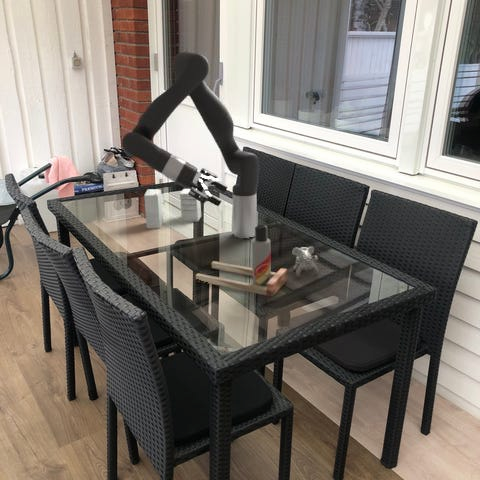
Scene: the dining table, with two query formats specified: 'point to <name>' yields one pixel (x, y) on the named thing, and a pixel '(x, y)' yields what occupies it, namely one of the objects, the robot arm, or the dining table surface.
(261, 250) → the lotion bottle
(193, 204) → the supplement box
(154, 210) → the skincare box
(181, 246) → the dining table surface
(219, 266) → the guide lane
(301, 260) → the elephant statuette
